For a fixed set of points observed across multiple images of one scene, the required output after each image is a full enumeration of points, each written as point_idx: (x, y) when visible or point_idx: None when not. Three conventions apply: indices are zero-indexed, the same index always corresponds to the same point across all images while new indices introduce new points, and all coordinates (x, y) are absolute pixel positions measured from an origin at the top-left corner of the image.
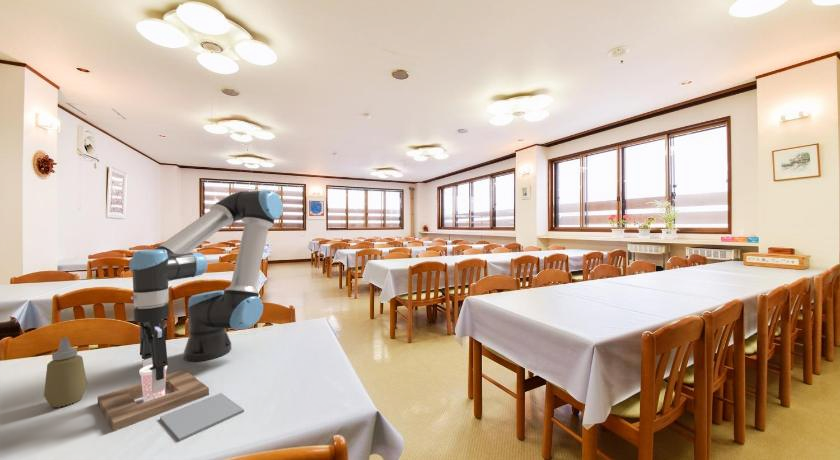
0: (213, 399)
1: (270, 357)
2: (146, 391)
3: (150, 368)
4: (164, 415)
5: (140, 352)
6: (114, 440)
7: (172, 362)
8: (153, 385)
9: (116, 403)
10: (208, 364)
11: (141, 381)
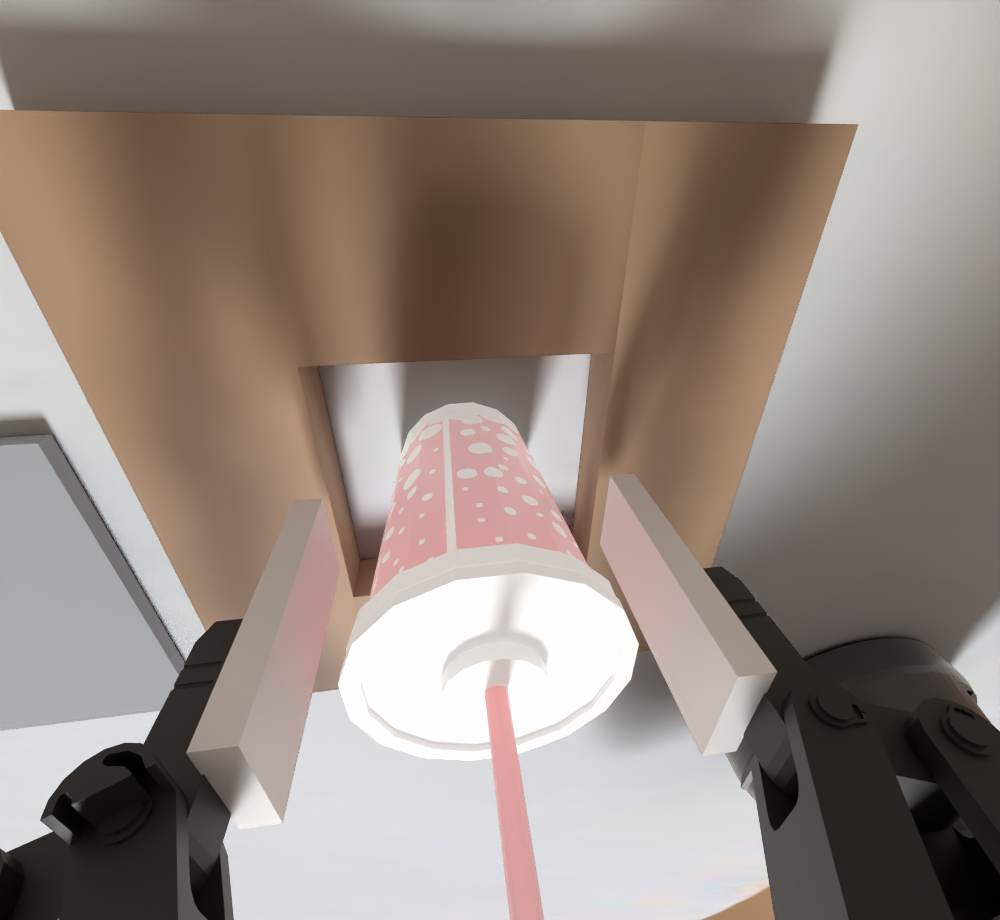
0: (121, 676)
1: (491, 836)
2: (418, 464)
3: (77, 788)
4: (41, 467)
5: (981, 754)
6: None
7: (920, 594)
8: (274, 554)
9: (492, 233)
10: None
11: (490, 492)
